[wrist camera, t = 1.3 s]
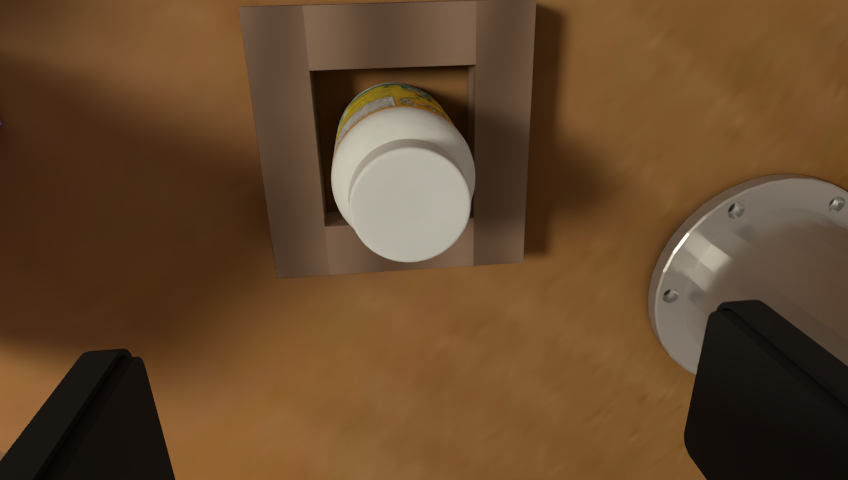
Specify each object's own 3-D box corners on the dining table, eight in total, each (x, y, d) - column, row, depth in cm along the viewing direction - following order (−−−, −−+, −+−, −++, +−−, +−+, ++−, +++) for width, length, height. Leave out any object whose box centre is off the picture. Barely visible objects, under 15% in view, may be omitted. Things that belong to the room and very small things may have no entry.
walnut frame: (523, -2, 25) (536, -1, 23) (513, 246, 30) (522, 262, 28) (247, 6, 24) (238, 7, 22) (282, 260, 29) (277, 278, 27)
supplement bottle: (315, 119, 26) (291, 180, 18) (414, 57, 26) (440, 89, 17) (377, 211, 28) (383, 307, 20) (470, 156, 28) (519, 230, 19)
